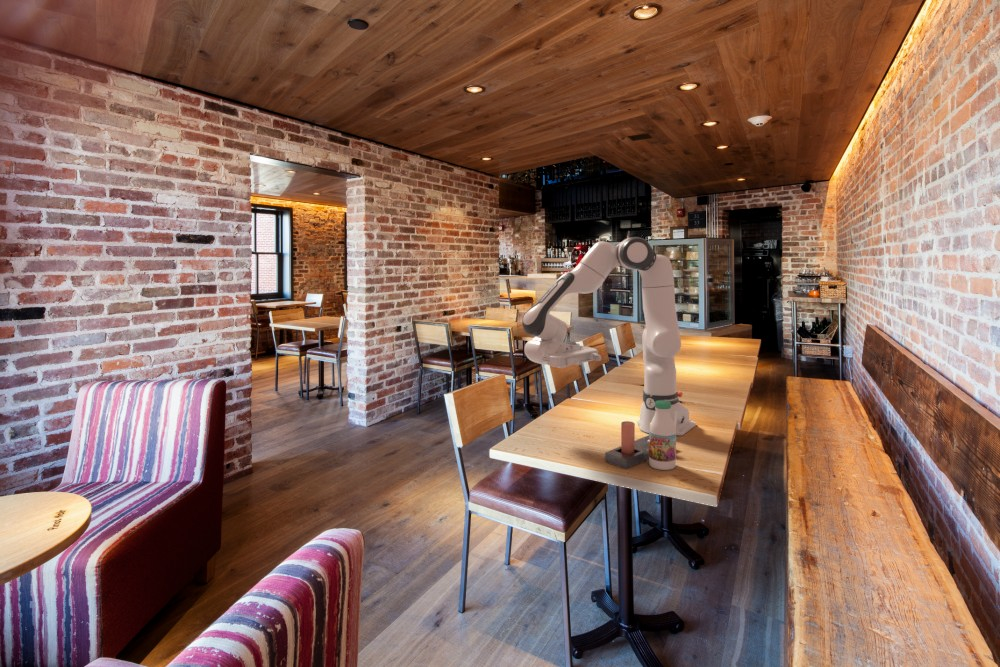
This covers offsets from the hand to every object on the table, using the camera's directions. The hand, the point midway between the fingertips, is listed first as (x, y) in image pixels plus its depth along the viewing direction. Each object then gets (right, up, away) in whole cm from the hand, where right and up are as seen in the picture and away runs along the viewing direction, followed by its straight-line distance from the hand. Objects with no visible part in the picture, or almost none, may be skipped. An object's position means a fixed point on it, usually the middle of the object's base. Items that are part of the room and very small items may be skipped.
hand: (590, 360), depth 162 cm
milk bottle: (+19, -32, -13) cm, 39 cm away
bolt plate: (+15, -30, -4) cm, 34 cm away
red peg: (+10, -31, -8) cm, 34 cm away
